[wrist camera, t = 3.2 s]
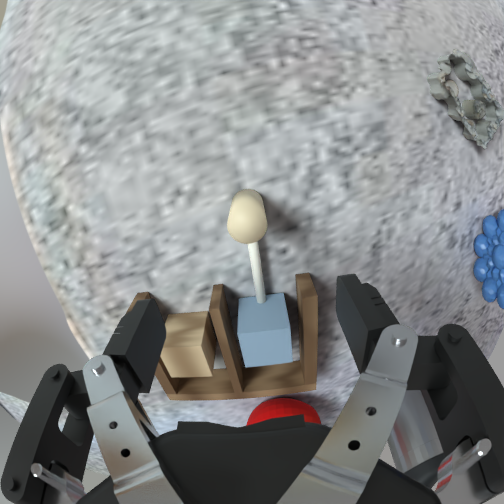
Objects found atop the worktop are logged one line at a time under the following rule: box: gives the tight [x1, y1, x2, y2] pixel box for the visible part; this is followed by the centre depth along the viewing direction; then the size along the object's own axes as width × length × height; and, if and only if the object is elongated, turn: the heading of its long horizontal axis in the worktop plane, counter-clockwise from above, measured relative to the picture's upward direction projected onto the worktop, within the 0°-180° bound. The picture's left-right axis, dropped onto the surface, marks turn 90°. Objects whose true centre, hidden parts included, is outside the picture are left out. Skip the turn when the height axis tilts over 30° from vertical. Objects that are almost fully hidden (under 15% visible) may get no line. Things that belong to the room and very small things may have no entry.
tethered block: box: [227, 189, 293, 367], centre depth 26 cm, size 5×17×6 cm, turn 8°
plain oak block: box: [160, 311, 217, 377], centre depth 30 cm, size 5×5×6 cm
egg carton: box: [427, 49, 504, 149], centre depth 19 cm, size 11×8×4 cm
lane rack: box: [125, 273, 318, 400], centre depth 31 cm, size 20×16×4 cm
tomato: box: [246, 398, 321, 426], centre depth 36 cm, size 11×12×10 cm
